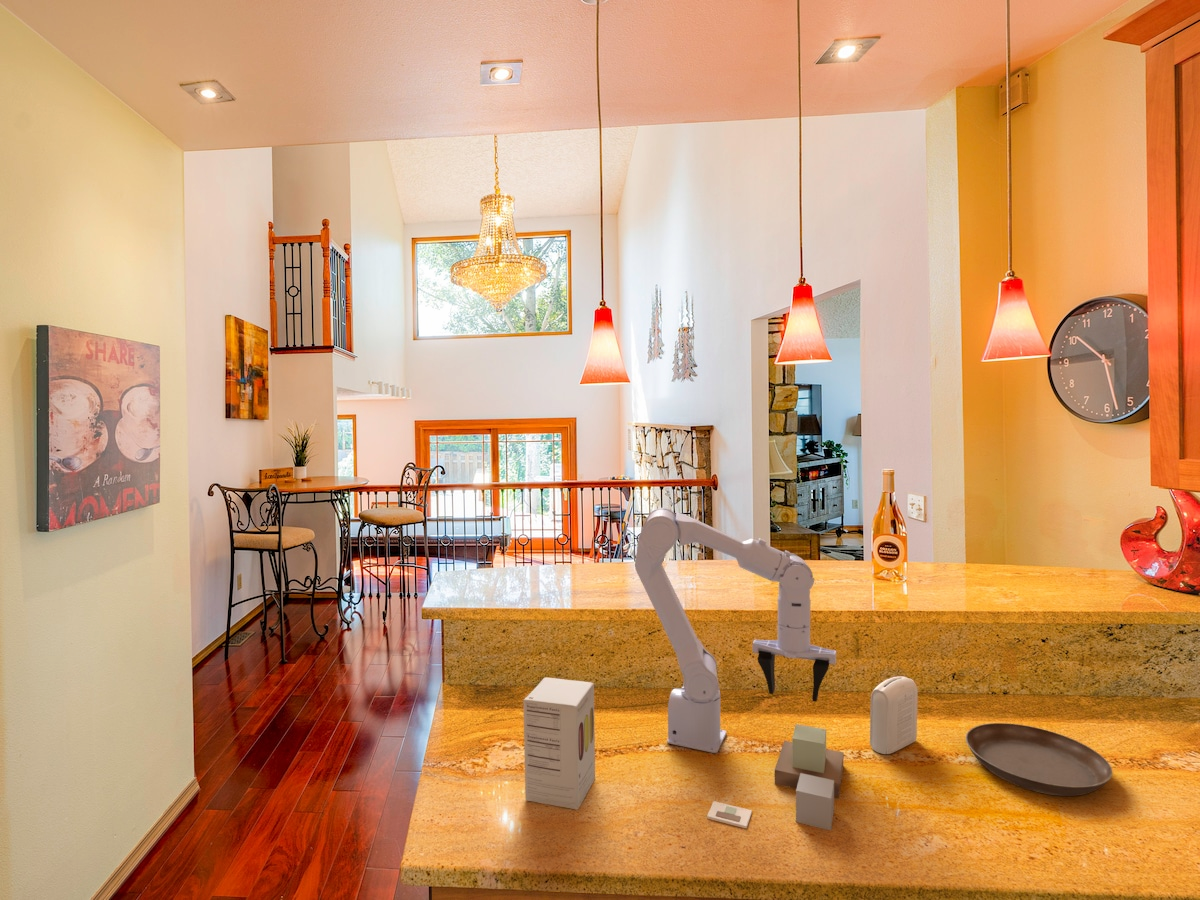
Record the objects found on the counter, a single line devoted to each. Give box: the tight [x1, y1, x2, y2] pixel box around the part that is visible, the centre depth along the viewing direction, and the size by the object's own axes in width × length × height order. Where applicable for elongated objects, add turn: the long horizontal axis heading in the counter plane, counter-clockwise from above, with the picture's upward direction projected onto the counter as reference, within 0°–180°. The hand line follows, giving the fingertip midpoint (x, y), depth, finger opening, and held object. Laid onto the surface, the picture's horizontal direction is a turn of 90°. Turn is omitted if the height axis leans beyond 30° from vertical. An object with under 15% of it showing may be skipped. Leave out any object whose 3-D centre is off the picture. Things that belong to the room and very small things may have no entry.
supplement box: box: [522, 676, 596, 811], centre depth 105 cm, size 10×9×17 cm
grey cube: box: [795, 773, 835, 831], centre depth 98 cm, size 5×5×5 cm
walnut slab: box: [774, 740, 845, 799], centre depth 109 cm, size 10×10×3 cm
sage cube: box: [791, 723, 827, 773], centre depth 108 cm, size 5×5×5 cm
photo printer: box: [869, 675, 919, 755], centre depth 118 cm, size 10×4×12 cm, turn 123°
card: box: [706, 800, 753, 829], centre depth 98 cm, size 6×4×1 cm, turn 66°
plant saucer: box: [965, 722, 1113, 797], centre depth 110 cm, size 21×21×3 cm
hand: (793, 695), depth 118 cm, fingers open, 7 cm apart
